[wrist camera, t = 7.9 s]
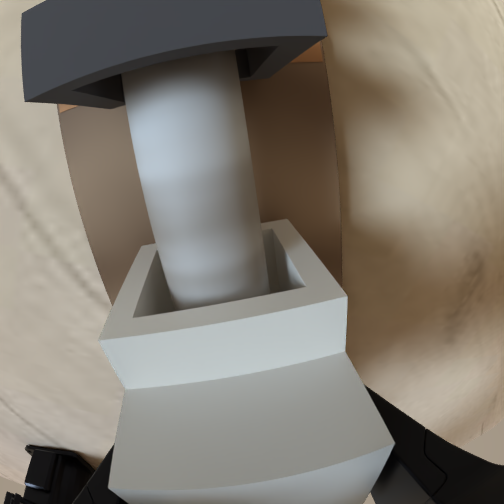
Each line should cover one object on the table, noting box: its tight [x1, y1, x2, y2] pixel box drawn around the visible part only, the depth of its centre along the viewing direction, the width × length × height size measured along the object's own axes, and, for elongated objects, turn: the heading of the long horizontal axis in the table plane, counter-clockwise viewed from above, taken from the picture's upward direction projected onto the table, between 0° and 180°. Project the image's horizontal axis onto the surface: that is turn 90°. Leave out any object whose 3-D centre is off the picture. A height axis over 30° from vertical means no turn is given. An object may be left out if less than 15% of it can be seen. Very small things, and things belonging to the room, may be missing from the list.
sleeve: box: [98, 219, 395, 504], centre depth 8 cm, size 6×5×8 cm
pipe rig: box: [57, 41, 342, 311], centre depth 10 cm, size 25×10×6 cm, turn 8°
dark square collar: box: [21, 0, 327, 109], centre depth 6 cm, size 2×5×5 cm, turn 98°
